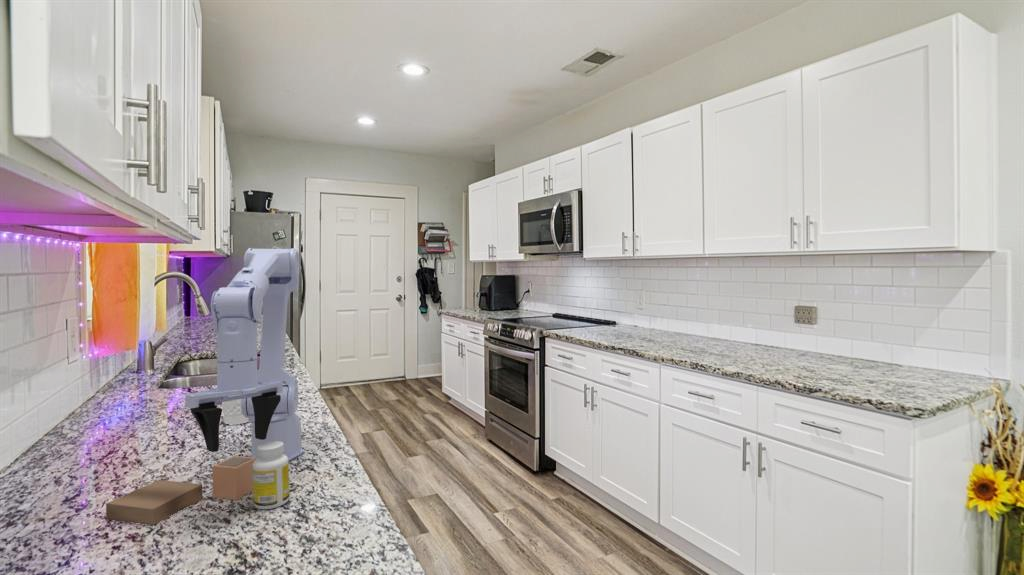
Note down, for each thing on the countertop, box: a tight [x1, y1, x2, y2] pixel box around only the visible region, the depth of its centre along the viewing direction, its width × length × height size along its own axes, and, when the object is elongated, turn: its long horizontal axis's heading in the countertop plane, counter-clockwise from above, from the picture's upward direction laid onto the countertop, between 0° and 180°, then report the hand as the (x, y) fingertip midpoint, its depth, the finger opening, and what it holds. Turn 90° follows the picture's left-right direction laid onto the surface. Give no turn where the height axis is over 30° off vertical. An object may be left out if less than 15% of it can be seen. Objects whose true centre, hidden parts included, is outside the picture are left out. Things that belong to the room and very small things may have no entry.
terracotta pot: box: [212, 455, 257, 501], centre depth 86 cm, size 5×5×6 cm
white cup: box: [221, 395, 250, 425], centre depth 127 cm, size 8×8×10 cm
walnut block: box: [105, 479, 203, 527], centre depth 80 cm, size 9×9×3 cm
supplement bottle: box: [252, 441, 290, 510], centre depth 82 cm, size 5×5×10 cm
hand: (237, 444), depth 79 cm, fingers open, 7 cm apart
